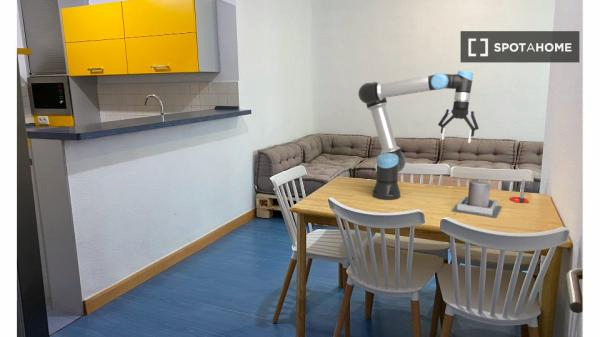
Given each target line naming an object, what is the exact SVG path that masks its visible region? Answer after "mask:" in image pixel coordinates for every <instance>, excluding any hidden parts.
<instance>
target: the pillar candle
mask: <svg viewBox="0 0 600 337" xmlns="http://www.w3.org/2000/svg"><path fill="white" fill-rule="evenodd" d="M491 183H492V181H489V180H488V179H487V180H486V179H482V178H479V179H478V178H476V179H475V178H474V179H470V180H469V183H468V195H467V197H468V204H467V205H472V206H479V207H487V208H488V205H489V199H490V192H491V191H490V190H491Z"/></svg>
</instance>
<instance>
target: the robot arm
mask: <svg viewBox="0 0 600 337" xmlns="http://www.w3.org/2000/svg"><path fill="white" fill-rule="evenodd" d="M473 75H474V73H473V71H471V70H458V71H457V73H454V74H450V73H435V74H431V75H426V76H425V75H424V76H421V77H420V76H419V77H415V78H410V79H403V80H397V81H391V82H385V83H381V82H380V81H378V82H376V81H373V82H365V83H364V84H362V85H361V86H360V88H359V89H358V98H359V100H360V101H361V102H362V103H364V104H365V105H366V107H367V109H368V110H369V111H370V112H371V115H372V120H373V122H374V125H375V126H374V127H375V130H376V134H377V136H378V139H379V140H378V141H379V144H380V147H381V152H380V154H379V155H378V156H377V157H376V163H375V164H376V180H375V185H374V188H373V191H372V196H373V198H376V199H380V200H389V201H390V200H397V199H400V197H401V190H400V187H399V184H398V183H399V182H398V179H399V175H398V174H399V173H400V172H401V171H402V170H403V169H404V168H405V166H406V162H407V161H406V157H405V155H404V153H403V152H402V150H401V148H400V146H398V145H397V142H396V139H395V136H394V132H393V128H392V124H391V121H390V118H389V114H388V111H387V106H386V105H387V103H388V102H387V98H391V97H399V96H404V95H411V94H417V93H424V92H430V91H437V90H439V91H440V90H443V89H447V90H448V89H449V90H450V89H451V90H455V91H454V98H453V99H454V101H453V105H452V109H449V108H448V109H446V111H445V113H444V115H443V117H442V118H441V120H440V121H439V122H438V124H437V126H438V127H440V128H441V129H440V134H441V140H445V137H446V129H447V127H446V126H447V125H448V124H449V123H450V122H451V121H452V120H454V119H460V120H464V121H465V122H466V124H467V125H468V126H469V128H470V130H469V136H468V139H467V141H468V142H467V143H468V144H470V143H472V137H474V136H475V131H476V130H479V129H480V128H479V125H478V123H477V120H476V117H475V111H473V110H471V111H469V106H470V102H469V101H470V99H471V91H472V85H473ZM451 113H452V115H450V117H449V118H448V116H449V114H451ZM468 115H469V116H470V117H471V120H472V122H471V121H470V119H469V118H468ZM447 118H448V119H447ZM446 119H447V120H446ZM472 123H473V124H472Z"/></svg>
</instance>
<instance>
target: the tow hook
mask: <svg viewBox="0 0 600 337" xmlns="http://www.w3.org/2000/svg"><path fill="white" fill-rule="evenodd" d="M520 188H521V189H520V196H511V197H509V200H510V201H512V202H514V203H519V204H528V203H529V202H530V201H529V199H528V198H525V197H524V196H525V192H524V191H525V178H522V182H521V187H520Z"/></svg>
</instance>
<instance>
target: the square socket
mask: <svg viewBox="0 0 600 337" xmlns="http://www.w3.org/2000/svg"><path fill="white" fill-rule="evenodd" d="M498 202H499V201H498V199H497V200H495V199H490V198H489V205H488V208H487V207H479V206H472V205H467V204H468V195H467V196H465V195H464V196H463V197H462V199H460V200H459V201H458V202H457V204H455V206H454V207H453V208H452V210H451V211H452V212H453V213H459V214H461V213H462V214H468V215H472V216H473V215H474V216H480V217H486V218H492V219H497V218H498V216H499V214H500V212H501V211H502V208H503V206H502V205H498Z"/></svg>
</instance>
